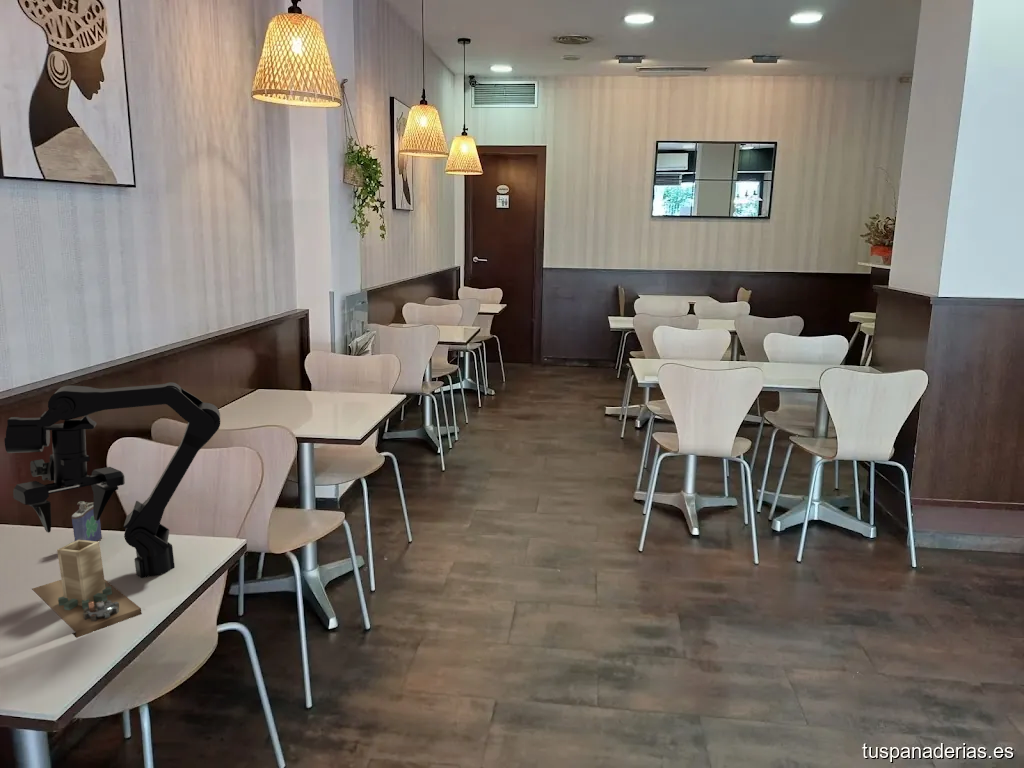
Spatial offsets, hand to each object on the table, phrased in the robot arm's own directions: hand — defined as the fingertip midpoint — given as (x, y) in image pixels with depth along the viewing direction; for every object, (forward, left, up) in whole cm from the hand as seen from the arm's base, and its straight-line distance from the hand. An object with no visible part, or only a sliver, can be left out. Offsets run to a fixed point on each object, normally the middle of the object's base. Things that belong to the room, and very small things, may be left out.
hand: (72, 525), depth 152 cm
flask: (-9, -22, -14) cm, 27 cm away
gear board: (+2, +8, -13) cm, 16 cm away
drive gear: (+2, +17, -12) cm, 21 cm away
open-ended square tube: (+2, +9, -12) cm, 15 cm away
